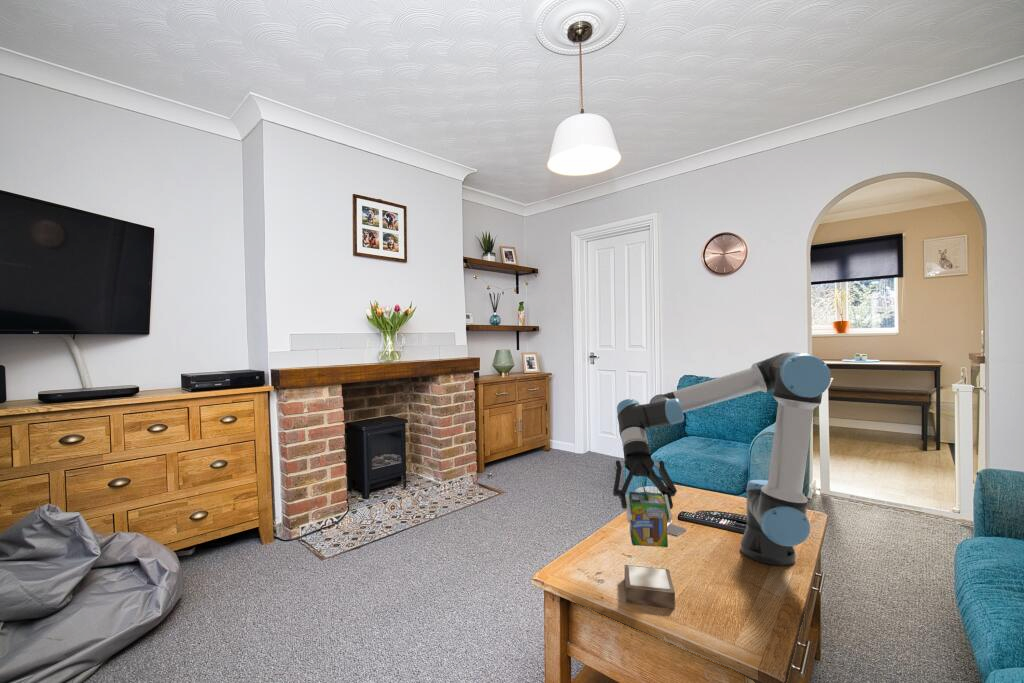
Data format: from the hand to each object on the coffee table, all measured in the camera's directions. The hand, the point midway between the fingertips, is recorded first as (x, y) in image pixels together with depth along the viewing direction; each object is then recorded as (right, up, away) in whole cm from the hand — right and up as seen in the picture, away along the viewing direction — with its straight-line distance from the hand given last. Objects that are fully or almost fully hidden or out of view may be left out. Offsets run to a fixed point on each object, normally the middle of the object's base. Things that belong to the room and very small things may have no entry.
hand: (649, 520), depth 119 cm
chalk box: (0, -7, +3) cm, 7 cm away
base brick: (0, -21, +3) cm, 21 cm away
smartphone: (+19, -21, +45) cm, 53 cm away
